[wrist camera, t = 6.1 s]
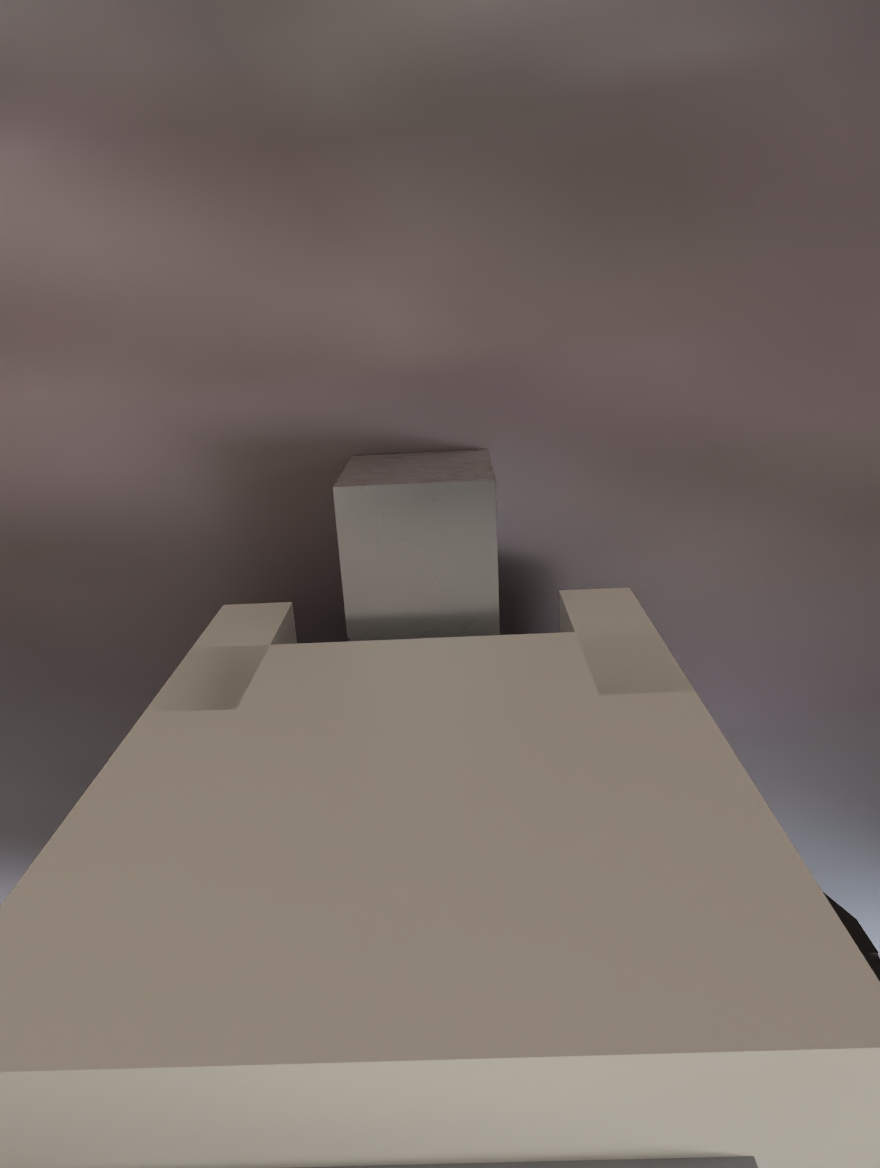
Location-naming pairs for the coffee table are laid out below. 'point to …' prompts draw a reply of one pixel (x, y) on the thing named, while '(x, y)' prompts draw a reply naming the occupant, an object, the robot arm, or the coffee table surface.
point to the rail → (418, 545)
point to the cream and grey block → (431, 923)
